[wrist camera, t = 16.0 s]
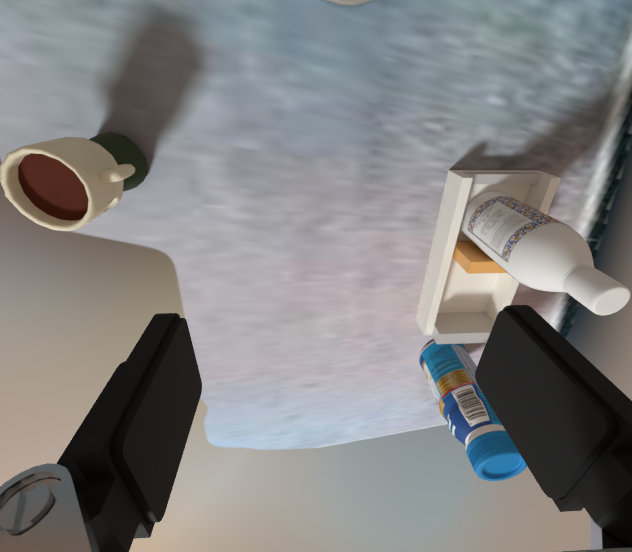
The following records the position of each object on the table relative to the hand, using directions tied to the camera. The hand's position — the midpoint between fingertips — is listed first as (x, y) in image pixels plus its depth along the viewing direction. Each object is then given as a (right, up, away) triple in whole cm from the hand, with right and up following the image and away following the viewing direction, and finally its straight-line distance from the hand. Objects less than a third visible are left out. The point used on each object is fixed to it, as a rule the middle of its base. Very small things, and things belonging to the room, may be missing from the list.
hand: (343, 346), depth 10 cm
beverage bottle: (+21, -12, +47) cm, 53 cm away
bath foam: (+22, +10, +33) cm, 41 cm away
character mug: (-24, +16, +28) cm, 40 cm away
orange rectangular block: (+22, +6, +35) cm, 42 cm away
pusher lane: (+22, +5, +37) cm, 43 cm away
